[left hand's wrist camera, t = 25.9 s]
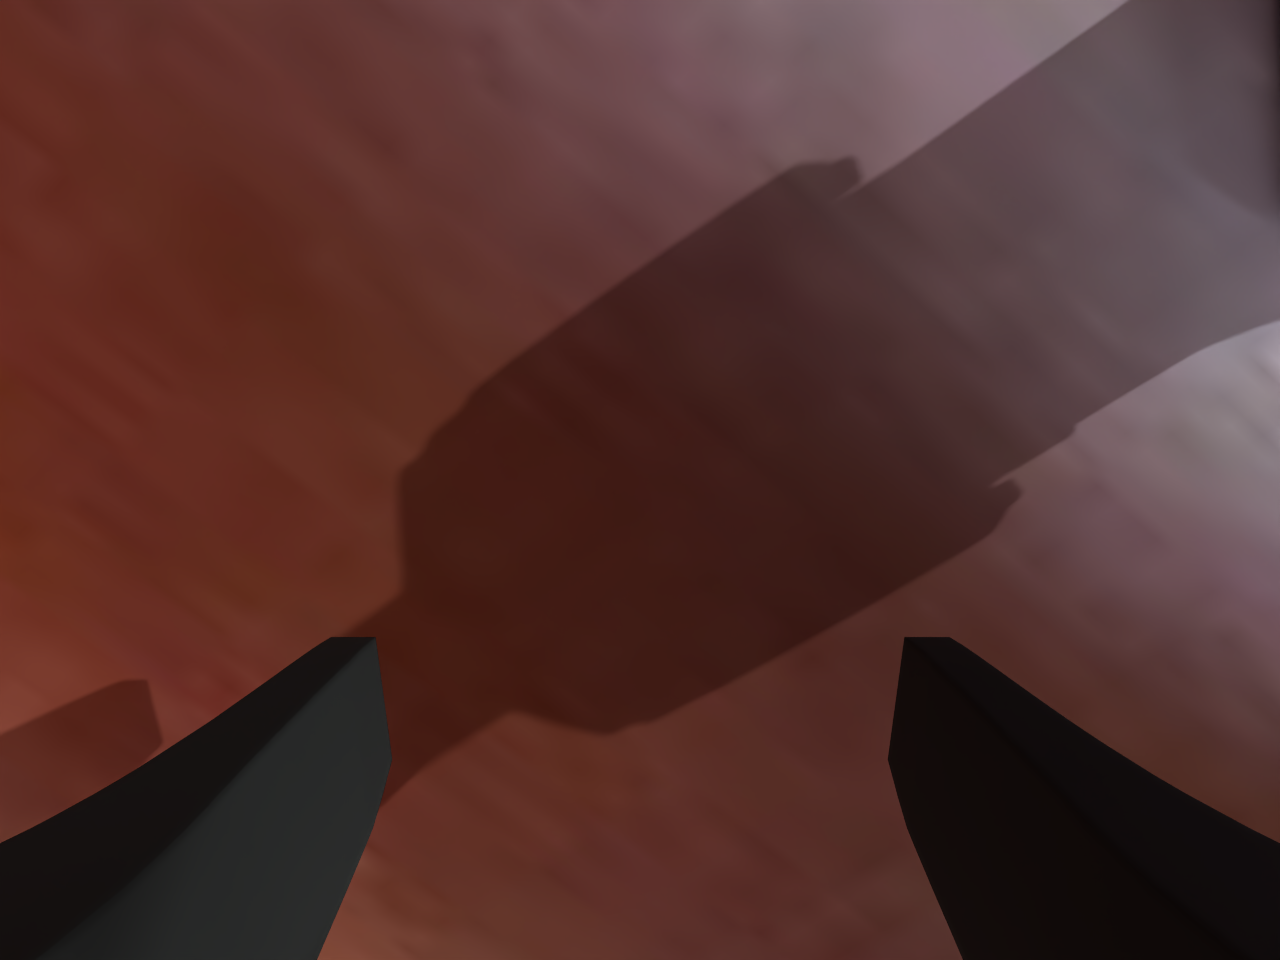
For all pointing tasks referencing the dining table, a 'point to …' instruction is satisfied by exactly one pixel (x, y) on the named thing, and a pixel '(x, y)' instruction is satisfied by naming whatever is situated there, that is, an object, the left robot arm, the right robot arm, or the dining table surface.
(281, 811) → the left robot arm
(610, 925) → the dining table surface
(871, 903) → the dining table surface
